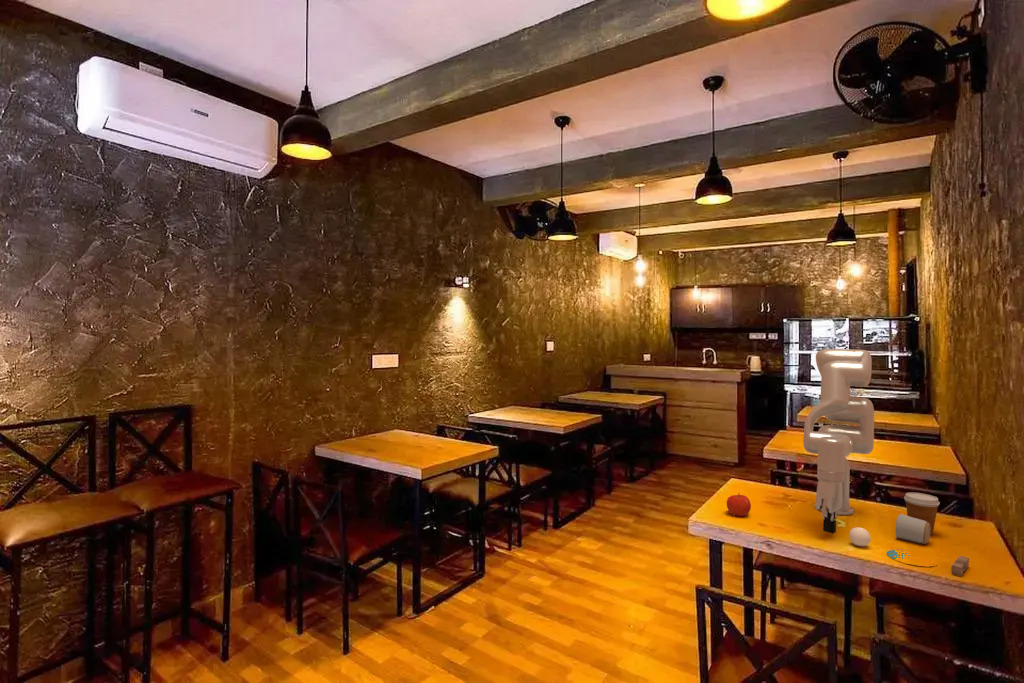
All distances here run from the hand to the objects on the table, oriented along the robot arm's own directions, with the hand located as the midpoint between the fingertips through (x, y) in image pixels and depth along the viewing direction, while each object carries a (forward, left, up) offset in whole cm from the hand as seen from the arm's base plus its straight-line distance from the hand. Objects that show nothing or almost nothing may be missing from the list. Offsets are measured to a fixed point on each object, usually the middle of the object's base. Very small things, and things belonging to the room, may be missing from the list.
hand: (829, 531), depth 176 cm
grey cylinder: (-18, +18, -2) cm, 26 cm away
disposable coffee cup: (-28, +18, -2) cm, 33 cm away
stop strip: (-1, +33, -2) cm, 33 cm away
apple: (+3, -29, -2) cm, 29 cm away
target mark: (0, +22, -2) cm, 22 cm away
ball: (+1, +9, +1) cm, 9 cm away
